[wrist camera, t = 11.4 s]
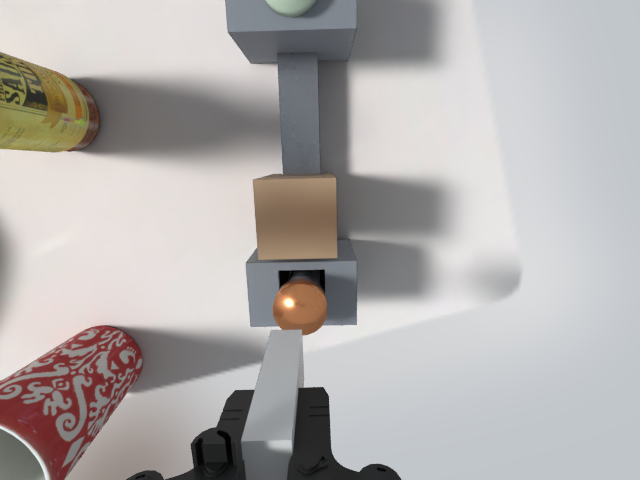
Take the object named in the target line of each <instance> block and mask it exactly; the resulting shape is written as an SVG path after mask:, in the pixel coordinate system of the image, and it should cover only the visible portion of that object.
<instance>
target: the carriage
mask: <svg viewBox="0 0 640 480" xmlns="http://www.w3.org/2000/svg"><path fill="white" fill-rule="evenodd" d="M253 188H254V203H255V217H256V232H257V247H258V260H273V259H318V258H337V199H336V177H335V176H334V175H333V173H324V174H292V175H282V174H272V175H269V176H265V177H261V178H258V179H254V180H253Z"/></svg>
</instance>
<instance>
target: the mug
mask: <svg viewBox="0 0 640 480" xmlns="http://www.w3.org/2000/svg"><path fill="white" fill-rule="evenodd" d="M142 365H143V358H142V354H141V351H140V349H139V347H138V345H137V344H136V342H135V341H134V340H133V339H132V338H131V337H130V336H129V335H128V334H126V333H125V332H123V331H121V330H119V329H116V328H113V327H107V326H96V327H91V328H88V329H86V330H84V331H82V332H80V333H78V334H77V335H75V336H73V337H72V338H70V339H69V340H67V341H66V342H64V343H62V344H61V345H59V346H57V347H56V348H54V349H53V350H51V351H49V352H48V353H46V354H44V355H43V356H41V357H40V358H38V359H37V360H35V361H33V362H32V363H30V364H29V365H27V366H25V367H24V368H22V369H20V370H19V371H17V372H16V373H14V374H12V375H11V376H9V377H7V378H5V379H4V380H1V381H0V480H65V478H66V477H67V476H68V474H69V473H70V471H71V470H72V469H73V467H74V466H75V465H76V463H77V462H78V461H79V459H80V458H81V457H82V455H83V454H84V452H85V451H86V449H87V447H88V446H89V445H90V444H91V442H92V441H93V440H94V438H95V437H96V435H97V434H98V433H99V431H100V430H101V429H102V427H103V426H104V424H105V423H106V422H107V421H108V419H109V417H110V416H111V415H112V413H113V412H114V410H115V409H116V408H117V406H118V405H119V403H120V402H121V401H122V399H123V398H124V397H125V395H126V394H127V392H128V391H129V390H130V388H131V387H132V386H133V384H134V383H135V381H136V380H137V378H138V377H139V375H140V373H141V370H142Z"/></svg>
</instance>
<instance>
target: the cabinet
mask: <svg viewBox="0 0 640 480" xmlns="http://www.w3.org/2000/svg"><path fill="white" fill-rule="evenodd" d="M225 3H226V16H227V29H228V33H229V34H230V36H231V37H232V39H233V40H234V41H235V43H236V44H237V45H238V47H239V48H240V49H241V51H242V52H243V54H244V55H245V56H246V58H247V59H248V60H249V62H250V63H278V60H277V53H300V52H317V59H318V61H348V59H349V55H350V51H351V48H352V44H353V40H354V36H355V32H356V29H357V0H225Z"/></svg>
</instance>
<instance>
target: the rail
mask: <svg viewBox="0 0 640 480" xmlns="http://www.w3.org/2000/svg"><path fill="white" fill-rule="evenodd" d="M277 60H278V81H279V102H280V122H281V143H282V163H283V175H292V174H320V141H319V99H318V59H317V52H300V53H277Z"/></svg>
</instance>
